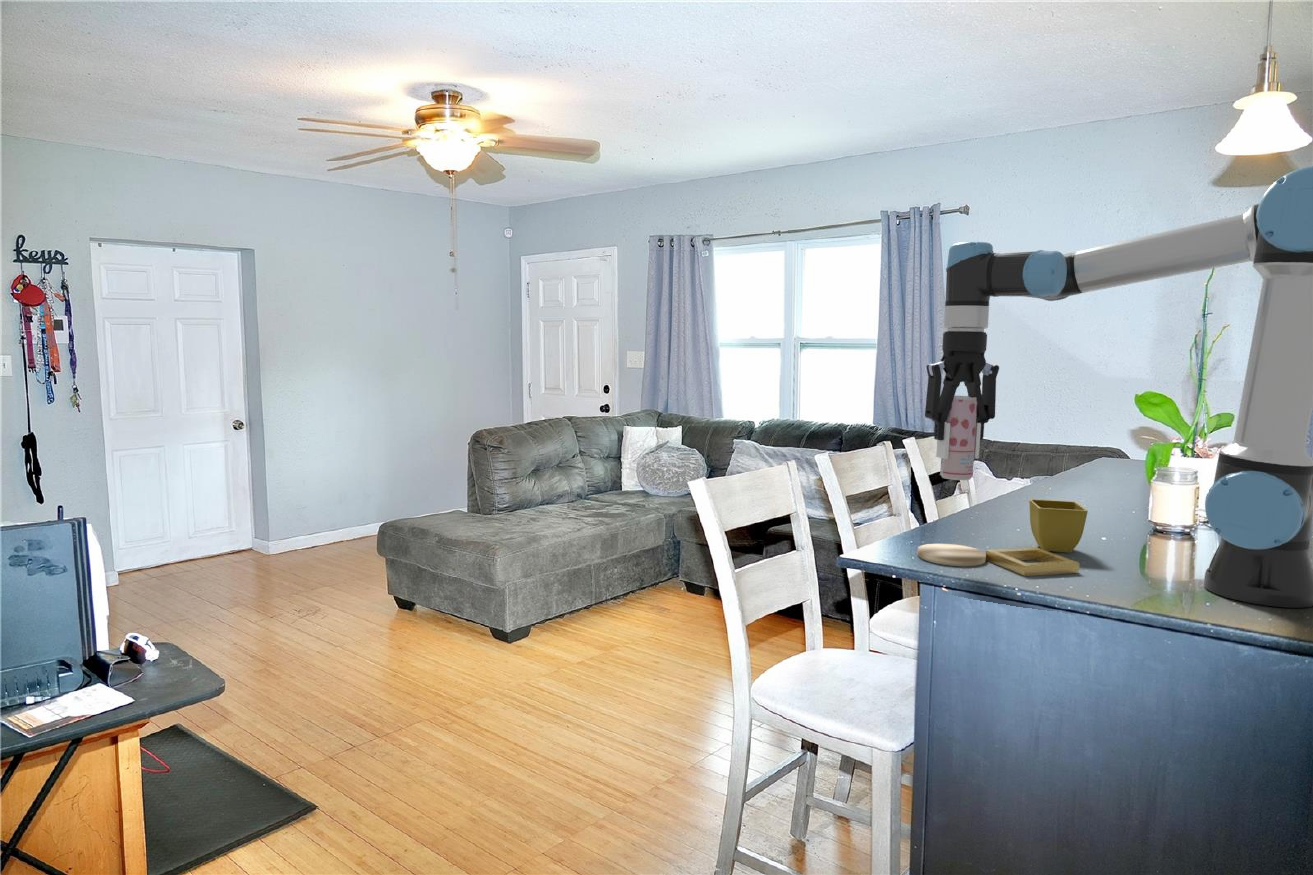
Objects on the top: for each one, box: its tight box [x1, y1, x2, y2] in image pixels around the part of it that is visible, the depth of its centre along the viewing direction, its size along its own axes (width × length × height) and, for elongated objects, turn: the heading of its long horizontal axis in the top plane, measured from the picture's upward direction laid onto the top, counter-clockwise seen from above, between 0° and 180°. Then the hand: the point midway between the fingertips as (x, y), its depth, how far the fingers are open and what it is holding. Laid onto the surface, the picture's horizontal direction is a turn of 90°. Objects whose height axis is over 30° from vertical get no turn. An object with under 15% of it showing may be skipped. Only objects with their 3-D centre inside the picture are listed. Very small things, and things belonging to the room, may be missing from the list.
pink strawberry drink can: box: [939, 395, 977, 481], centre depth 156 cm, size 6×6×15 cm
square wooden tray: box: [985, 547, 1080, 577], centre depth 153 cm, size 11×11×2 cm
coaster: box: [917, 543, 987, 567], centre depth 159 cm, size 12×12×1 cm
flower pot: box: [1028, 498, 1088, 553], centre depth 166 cm, size 9×9×9 cm
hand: (957, 457), depth 156 cm, fingers closed on pink strawberry drink can, 6 cm apart
